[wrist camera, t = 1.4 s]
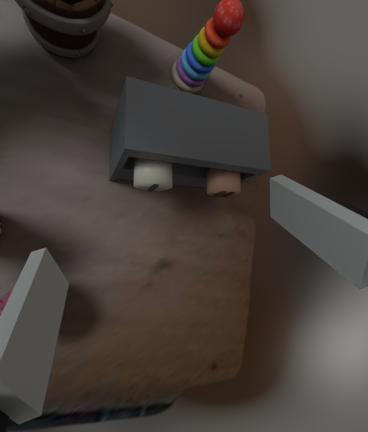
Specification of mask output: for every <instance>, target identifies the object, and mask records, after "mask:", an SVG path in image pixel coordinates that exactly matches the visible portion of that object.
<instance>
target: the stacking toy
mask: <svg viewBox="0 0 368 432" xmlns="http://www.w3.org/2000/svg"><path fill="white" fill-rule="evenodd" d="M243 21H244V8H243V6H242V4H241V2H240V1H239V0H222V1H221V2H220V3H219V4H218V5H217V7H216V9H215V12H214V17H213V18H211V19H210V20H209V21H208V22H207V23H206V26H205V27H203V28H202V29H201V31H200V32H199V34H198V35H197V36H196V37H195V38H194V40H193V41H192V42H190V43H189V44H188V46H187V48H186V49H184V51H183V52H182V54H180V55H179V57H178V59H177V60H176V61H175V62H174V63H173V66H172V77H173V80H174V82H175V83H176V85H177V86H178V87H179V88H180V89H181V90H183V91H185V92H188V93H196V92H198V91H199V90H200V89H201V88H202V87H203V85H204V83H205V82H206V80H207V78H208V76H209V75H210V73H211V70H212V69H213V68H214V66H215V64H216V63H217V62H218V60H219V59H220V55H221V54H222V53H223V52H224V49H225V47H226V46H227V45H228V43H229V41H230V36H232V35H234V34H236V33H237V32H238V31H239V30H240V28H241V26H242V24H243Z"/></svg>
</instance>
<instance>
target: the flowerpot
mask: <svg viewBox="0 0 368 432" xmlns="http://www.w3.org/2000/svg"><path fill="white" fill-rule="evenodd" d="M15 1H16V2H17V4H18V5H19V6H20V7H21V8H22V13H23V17H24V19H25V22H26V24H27V26H28V28H29V30H30V32H31V33H32V35H33V36H34V38H35V39H36V40H37V41H38V42H39V44H40V45H42V46H43V47H44V48H46V49H47V50H49V51H51V52H52V53H54V54H56V55H60V56H63V57H66V58H79V57H82V56H85V55H87V54H88V53H89V52H91V51H92V50H93V48H94V47H95V45H96V43H97V41H98V39H99V38H100V36H99V33H100V29H99V28H100V27H102V26H103V25H104V23H105V22H106V20H107V19H108V17H109V14H110V11H111V7H112V6H113V4H112V2H111V0H15Z"/></svg>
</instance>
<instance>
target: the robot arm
mask: <svg viewBox="0 0 368 432" xmlns="http://www.w3.org/2000/svg"><path fill="white" fill-rule="evenodd" d="M270 217H272V218H273V219H274V220H275V221H276V222H278V223H279V224H280V225H281V226H282V227H284V228H285V229H286V230H287V231H289V232H290V233H291V234H292V235H294V236H295V237H296V238H297V239H298V240H300V241H301V242H302V243H303V244H305V245H306V246H307V247H308V248H309V249H311V250H312V251H313V252H314V253H316V254H317V255H318V256H319V257H321V258H322V259H323V260H324V261H325V262H327V263H328V264H329V265H330V266H331V267H333V268H334V269H335V270H336V271H338V272H339V273H340V274H341V275H342V276H344V277H345V278H346V279H347V280H349V281H350V282H351V283H352V284H354V285H355V286H356V287H357V288H358V289H362V288H364V287H366V286H368V213H366V212H363V211H362V210H360V209H358V208H356V207H354V206H352V205H347V204H344V203H338V204H337V203H335V202H333V201H331V200H330V199H328V198H326V197H324V196H322V195H320V194H318V193H316V192H314V191H312V190H310V189H308V188H306V187H304V186H302V185H300V184H298V183H297V182H295V181H293V180H291V179H289V178H287V177H285V176H283V175H279V176H275V177H272V178H270ZM68 286H69V283H68V281H67V279H66V278H65V276H64V275H63V273H62V272H61V270H60V268H59V267H58V265H57V264H56V262H55V261H54V259H53V257H52V256H51V254H50V253H49V251H48V250H47V248H42V249H39V250H36V251H33V252H31V253H30V255H29V258H28V260H27V262H26V264H25V266H24V268H23V270H22V272H21V274H20V276H19V278H18V280H17V282H16V285H15V287H14V289H13V291H12V293H11V295H10V297H9V299H8V301H7V303H6V305H5V307H4V309H3V311H2V314H1V316H0V432H6V431H5V429H6V426H7V422H8V419H9V418H10V419H12V420H13V421H15V422H16V423H17V424H21V423H23V422H26V421H28V420H31V419H33V418H36V417H38V416H41V413H42V409H43V404H44V399H45V395H46V390H47V385H48V381H49V376H50V371H51V366H52V362H53V357H54V352H55V348H56V343H57V338H58V333H59V329H60V324H61V319H62V315H63V310H64V305H65V301H66V296H67V291H68Z"/></svg>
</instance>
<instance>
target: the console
mask: <svg viewBox="0 0 368 432" xmlns="http://www.w3.org/2000/svg"><path fill="white" fill-rule="evenodd" d="M135 158H144V159H151V160H158V161H165V162H172V185H182V186H192V187H202V188H207V179H206V172H207V170H209V169H211V168H215V169H222V170H229V171H236V172H240V179H241V183H242V182H244V181H247V180H249V179H252V178H254V177H257V176H259V175H262V174H264V173H267V172H270V171H271V159H270V142H269V124H268V114H265V113H261V112H257V111H254V110H250V109H246V108H243V107H239V106H235V105H232V104H228V103H225V102H221V101H217V100H214V99H210V98H206V97H203V96H199V95H195V94H192V93H188V92H184V91H181V90H177V89H174V88H170V87H166V86H163V85H159V84H155V83H152V82H148V81H144V80H141V79H137V78H133V77H130V76H126V79H125V82H124V86H123V89H122V93H121V96H120V100H119V103H118V107H117V110H116V114H115V117H114V121H113V124H112V128H111V143H110V177H109V181H115V180H116V179H123V180H133V181H134V159H135Z"/></svg>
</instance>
